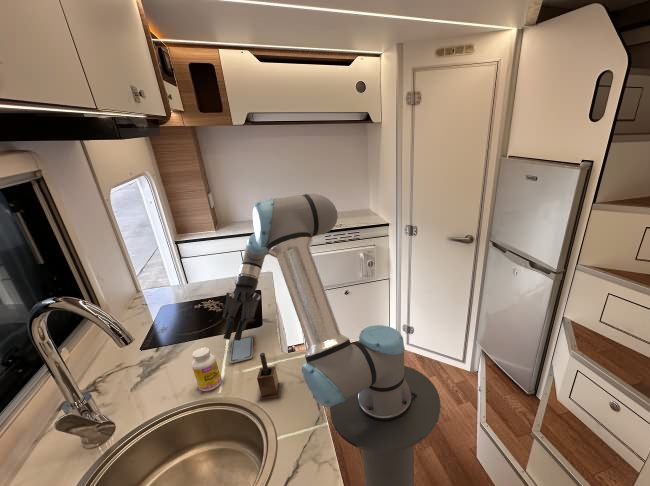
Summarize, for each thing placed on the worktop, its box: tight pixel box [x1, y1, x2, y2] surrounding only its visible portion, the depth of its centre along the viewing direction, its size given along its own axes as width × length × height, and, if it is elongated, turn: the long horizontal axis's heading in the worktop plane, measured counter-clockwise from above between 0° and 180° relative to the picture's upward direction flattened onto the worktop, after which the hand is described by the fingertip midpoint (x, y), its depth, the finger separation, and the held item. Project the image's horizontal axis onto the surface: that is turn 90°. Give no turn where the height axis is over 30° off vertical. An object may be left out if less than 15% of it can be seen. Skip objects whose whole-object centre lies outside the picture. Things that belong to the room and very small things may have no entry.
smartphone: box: [229, 335, 254, 364], centre depth 119 cm, size 7×1×15 cm
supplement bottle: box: [191, 347, 222, 392], centre depth 100 cm, size 7×7×13 cm
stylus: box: [259, 352, 269, 376], centre depth 95 cm, size 1×1×14 cm
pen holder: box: [256, 365, 282, 402], centre depth 96 cm, size 6×6×8 cm
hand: (231, 339), depth 112 cm, fingers open, 3 cm apart
